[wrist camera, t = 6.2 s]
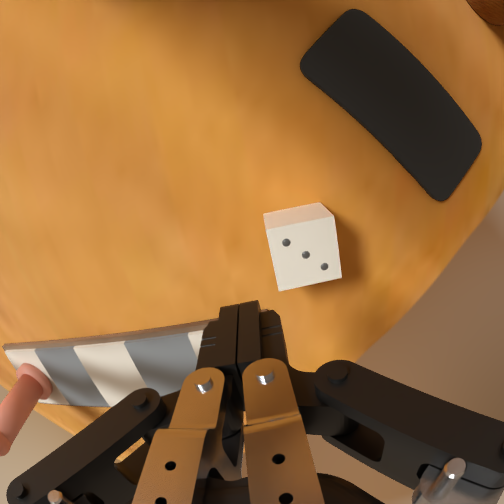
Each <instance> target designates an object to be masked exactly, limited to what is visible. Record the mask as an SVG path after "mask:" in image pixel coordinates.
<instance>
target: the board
mask: <svg viewBox="0 0 504 504" xmlns="http://www.w3.org/2000/svg"><path fill="white" fill-rule="evenodd" d="M264 311H267V309H265V310H261V312H264ZM216 320H219V318H217V319H211V320H205V321H199V322H193V323H187V324H180V325H174V326H167V327H160V328H154V329H146V330H139V331H132V332H124V333H116V334H108V335H99V336H91V337H81V338H72V339H61V340H50V341H38V342H25V343H10V344H4V345H3V346H2V347H3V349H4V351H5V353H6V355H7V357H8V358H9V360H10V362H11V363H12V365H13V366H14V368H15V369H16V371H17V370H18V368H19V367H20V366H21V365H22V364H23V363H29V364H32V365H34V366H35V367H37V368H38V369H40V370H41V371H42V372H43V373H44V374H45V375H46V376H47V378H48V379H49V381H50V382H51V384H52V387H53V391H52V393H51V394H50V396H49V398H48V399H46V400H41V399H39V400H38V402H39V403H46V404H57V405H70V406H89V407H113V406H115V405H116V404H117V403H118V402H120V401H121V400H122V399H124V398H125V397H126V396H127V395H129V394H130V393H132V392H133V391H135V390H138V389H141V388H152V389H154V390H156V391H157V392H158V393H159V395H160V396H164V395H167V394H170V393H173V392H176V391H178V390H180V389H181V388H182V385H183V382H184V380H185V378H186V377H187V376H188V375H189V374H191V373H192V372H194V371H195V370H196V365H197V360H198V354H199V349H200V344H201V340H202V334H203V330H204V329H205V327H206V326H207V325H208V323H209V322H210V321H216Z"/></svg>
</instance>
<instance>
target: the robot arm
mask: <svg viewBox="0 0 504 504" xmlns="http://www.w3.org/2000/svg"><path fill="white" fill-rule="evenodd" d="M243 411H246V421H247V425H244V423H243ZM306 434H312V435H322V437H323V439H324V440H326V441H327V442H329V443H330V444H332V445H333V446H335V447H337V448H338V449H340V450H342V451H344V452H345V453H347V454H348V455H350V456H352V457H354V458H355V459H357V460H359V461H360V462H362V463H364V464H366V465H367V466H369V467H371V468H373V469H375V470H377V471H378V472H380V473H382V474H384V475H386V476H388V477H390V478H391V479H393V480H395V481H397V482H399V483H401V484H403V485H405V486H407V487H409V488H411V489H413V490H414V492H413V495H412V504H497V502H498V500H499V498H500V496H501V494H502V492H503V490H504V422H502V421H499V420H496V419H493V418H490V417H488V416H484V415H482V414H479V413H476V412H474V411H471V410H468V409H465V408H463V407H460V406H457V405H454V404H452V403H449V402H447V401H444V400H441V399H439V398H436V397H434V396H431V395H429V394H426V393H424V392H421V391H419V390H416V389H414V388H411V387H409V386H406V385H404V384H402V383H399V382H397V381H394V380H392V379H390V378H387V377H385V376H383V375H380V374H378V373H376V372H373V371H371V370H369V369H366V368H364V367H362V366H360V365H357V364H355V363H353V362H350V361H347V360H334V361H330V362H328V363H325V364H324V365H322V366H321V367H319V368H318V369H317V371H316V372H302V371H298V370H296V369H294V368H292V367H291V366H290V365H289V361H288V356H287V349H286V344H285V339H284V334H283V329H282V325H281V320H280V316H279V315H278V314H277V313H276V312H275V311H274V310H270V311H264V312H261V309H260V305H259V302H258V300H256V301H251V302H245V303H240V305H239V304H235V305H230V306H225V307H221V308H220V313H219V320H216V321H210V322H209V323H208V325H207V326H206V327H205V329H204V330H203V334H202V340H201V344H200V349H199V354H198V360H197V365H196V370H195V371H194V372H192V373H191V374H189V375H188V376H187V377H186V378H185V380H184V382H183V385H182V388H181V389H180V390H178V391H176V392H173V393H170V394H167V395H164V396H160V395H159V393H158V392H157V391H156V390H154V389H152V388H141V389H138V390H135V391H133V392H132V393H130V394H129V395H127V396H126V397H125V398H124V399H122V400H121V401H120V402H118V403H117V404H116V405H115V406H113V407H112V408H111V409H109V410H108V411H107V412H105V413H104V414H103V415H102V416H100V417H99V418H98V419H96V420H95V421H94V422H92V423H91V424H90V425H88V426H87V427H86V428H84V429H83V430H82V431H80V432H79V433H78V434H76V435H75V436H74V437H72V438H71V439H70V440H68V441H67V442H66V443H64V444H63V445H61V446H60V447H59V448H57V449H56V450H55V451H53V452H52V453H51V454H49V455H48V456H46V457H45V458H44V459H42V460H41V461H39V462H38V463H37V464H35V465H34V466H32V467H31V468H30V469H28V470H27V471H25V472H24V473H22V474H21V475H20V476H18V477H17V478H15V479H14V480H13V481H12V482H11V483H10V485H9V486H8V489H7V495H6V496H7V501H8V503H9V504H385V503H383V502H381V501H380V500H378V499H376V498H374V497H373V496H371V495H370V494H368V493H367V492H365V491H363V490H362V489H360V488H359V487H357V486H356V485H354V484H352V483H351V482H348V481H346V480H344V479H342V478H339V477H336V476H332V475H328V474H322V473H316V469H315V465H314V462H313V458H312V454H311V451H310V447H309V443H308V440H307V436H306ZM141 437H142V438H143V439H144V441H145V443H144V444H143V445H141V446H140V447H139V448H138V449H137V450H135V451H134V452H133V453H132V454H130V455H129V456H128V457H127V458H126V459H124V460H123V461H122V462H120V463H114V461H115V459H116V458H117V457H118V456H119V455H121V454H122V453H123V452H124V451H126V450H127V449H128V448H129V447H130V446H132V445H133V444H134V443H135V442H137V441H138V440H139V439H140V438H141ZM244 444H245V454H246V465H247V474H248V477H245V478H242V475H241V467H242V458H243V447H244Z"/></svg>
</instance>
